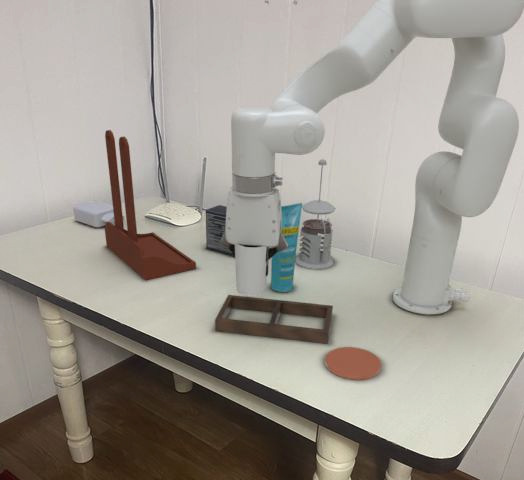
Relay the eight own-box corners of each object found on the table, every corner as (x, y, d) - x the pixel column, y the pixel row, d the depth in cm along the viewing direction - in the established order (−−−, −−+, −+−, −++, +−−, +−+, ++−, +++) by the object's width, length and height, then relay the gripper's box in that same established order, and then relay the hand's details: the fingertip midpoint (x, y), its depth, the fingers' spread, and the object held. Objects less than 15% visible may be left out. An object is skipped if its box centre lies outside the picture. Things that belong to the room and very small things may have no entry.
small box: (252, 250, 147) (253, 211, 142) (238, 258, 142) (239, 217, 137) (220, 242, 152) (219, 203, 147) (205, 249, 147) (204, 209, 142)
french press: (324, 252, 148) (333, 153, 135) (343, 269, 138) (355, 165, 125) (289, 255, 145) (295, 155, 132) (306, 273, 136) (314, 167, 123)
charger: (109, 233, 155) (75, 221, 162) (135, 225, 161) (100, 214, 169) (107, 217, 152) (72, 205, 160) (133, 209, 159) (98, 198, 166)
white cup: (240, 280, 114) (240, 233, 109) (271, 285, 113) (273, 237, 108) (229, 294, 109) (229, 245, 104) (262, 299, 108) (264, 249, 102)
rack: (331, 316, 117) (332, 305, 116) (327, 343, 107) (328, 332, 106) (228, 305, 120) (228, 294, 119) (215, 331, 110) (215, 319, 109)
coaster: (380, 353, 105) (381, 350, 105) (380, 383, 96) (381, 380, 96) (327, 347, 106) (327, 344, 106) (322, 376, 98) (323, 373, 97)
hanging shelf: (196, 268, 136) (191, 138, 120) (145, 280, 129) (133, 144, 114) (153, 238, 153) (144, 120, 137) (106, 247, 146) (91, 124, 131)
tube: (274, 295, 125) (278, 210, 115) (262, 287, 128) (265, 203, 118) (301, 288, 128) (307, 205, 118) (289, 280, 132) (294, 199, 122)
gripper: (301, 179, 102) (297, 273, 112) (214, 175, 104) (217, 267, 114) (296, 191, 96) (292, 289, 105) (203, 186, 98) (208, 282, 108)
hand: (253, 277), depth 110 cm, fingers closed on white cup, 2 cm apart
